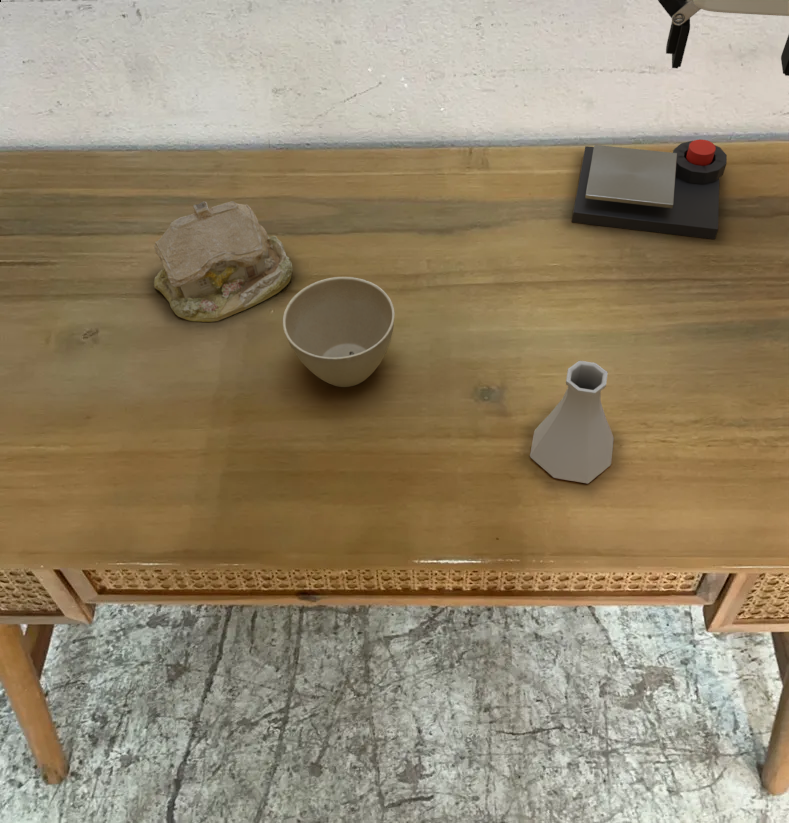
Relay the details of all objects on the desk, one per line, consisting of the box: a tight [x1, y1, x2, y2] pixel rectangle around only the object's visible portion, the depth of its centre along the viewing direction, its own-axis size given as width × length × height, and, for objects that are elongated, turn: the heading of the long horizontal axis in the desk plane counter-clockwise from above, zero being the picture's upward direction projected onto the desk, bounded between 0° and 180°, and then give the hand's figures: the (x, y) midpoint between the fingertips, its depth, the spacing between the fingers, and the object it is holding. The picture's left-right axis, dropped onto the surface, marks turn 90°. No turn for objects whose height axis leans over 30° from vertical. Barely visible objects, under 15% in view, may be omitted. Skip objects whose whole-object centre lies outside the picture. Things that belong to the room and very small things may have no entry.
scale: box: [571, 140, 728, 240], centre depth 92 cm, size 15×13×3 cm
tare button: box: [686, 138, 716, 166], centre depth 91 cm, size 3×3×2 cm
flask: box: [529, 360, 615, 484], centre depth 69 cm, size 7×7×10 cm
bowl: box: [282, 276, 396, 388], centre depth 77 cm, size 10×10×7 cm
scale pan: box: [585, 144, 677, 208], centre depth 90 cm, size 9×9×1 cm
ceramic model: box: [153, 200, 293, 323], centre depth 84 cm, size 14×11×10 cm
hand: (730, 63), depth 76 cm, fingers open, 9 cm apart
